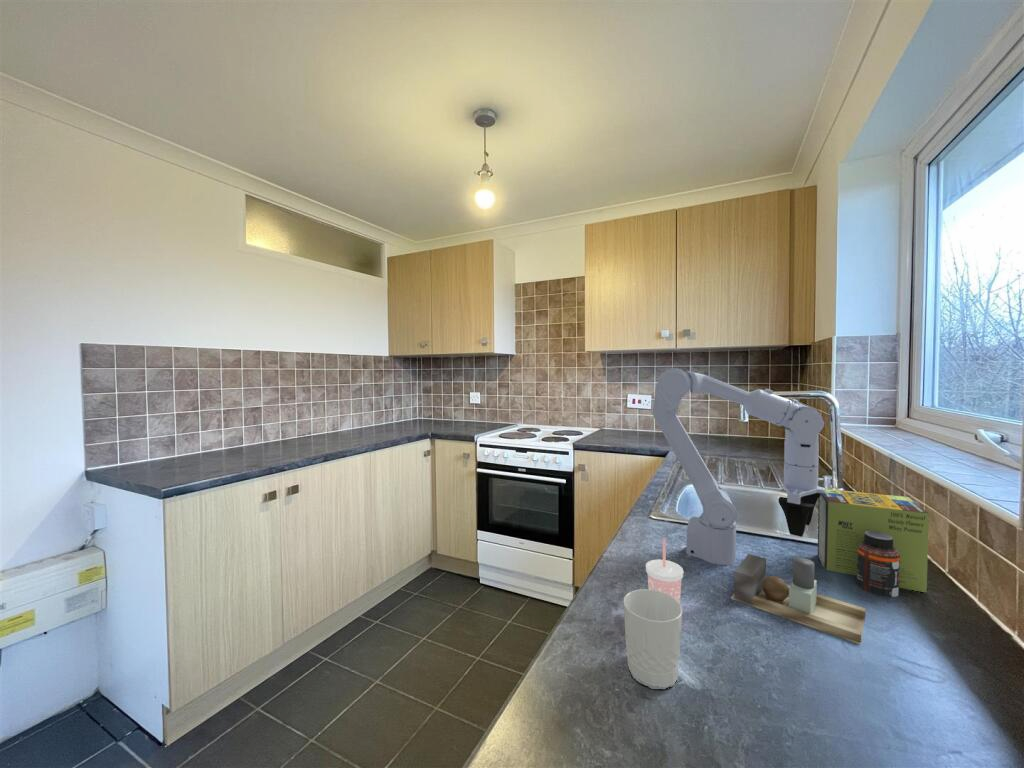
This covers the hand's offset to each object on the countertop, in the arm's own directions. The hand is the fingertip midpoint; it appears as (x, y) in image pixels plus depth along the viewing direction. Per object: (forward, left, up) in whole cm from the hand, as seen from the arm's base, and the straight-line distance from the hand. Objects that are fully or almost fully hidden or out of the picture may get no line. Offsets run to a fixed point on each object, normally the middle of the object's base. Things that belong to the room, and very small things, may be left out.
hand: (799, 529), depth 84 cm
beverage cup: (-14, -33, -10) cm, 37 cm away
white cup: (-10, -46, -10) cm, 48 cm away
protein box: (+10, +10, -10) cm, 17 cm away
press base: (+2, -16, -9) cm, 19 cm away
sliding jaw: (+3, -16, -8) cm, 18 cm away
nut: (-1, -16, -8) cm, 18 cm away
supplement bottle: (+12, +1, -10) cm, 15 cm away
